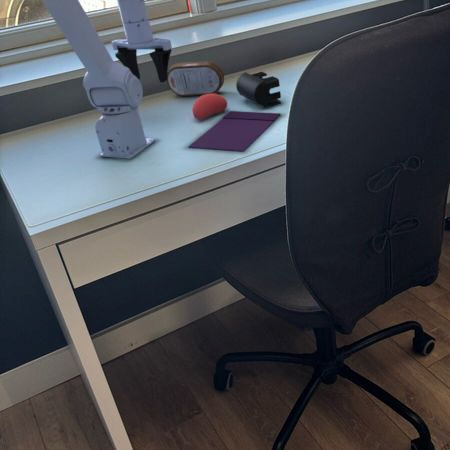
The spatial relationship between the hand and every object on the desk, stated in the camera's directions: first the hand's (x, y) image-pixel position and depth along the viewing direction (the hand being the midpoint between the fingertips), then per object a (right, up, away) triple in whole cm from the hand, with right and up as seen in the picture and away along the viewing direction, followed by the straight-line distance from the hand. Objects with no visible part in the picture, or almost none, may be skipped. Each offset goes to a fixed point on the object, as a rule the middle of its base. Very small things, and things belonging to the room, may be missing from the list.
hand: (150, 80), depth 131 cm
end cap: (+25, -4, +8) cm, 26 cm away
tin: (+8, +1, +18) cm, 20 cm away
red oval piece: (+14, -7, +4) cm, 16 cm away
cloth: (+21, -13, -6) cm, 25 cm away
